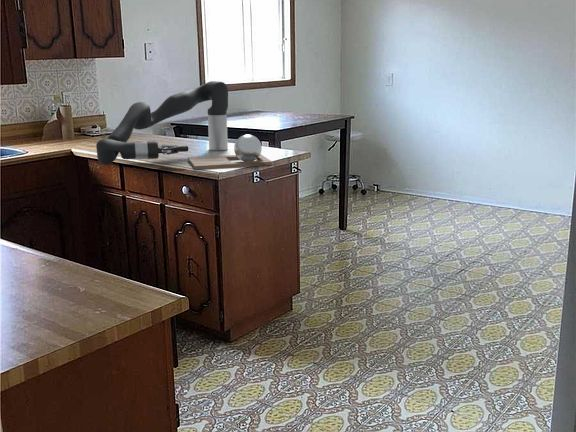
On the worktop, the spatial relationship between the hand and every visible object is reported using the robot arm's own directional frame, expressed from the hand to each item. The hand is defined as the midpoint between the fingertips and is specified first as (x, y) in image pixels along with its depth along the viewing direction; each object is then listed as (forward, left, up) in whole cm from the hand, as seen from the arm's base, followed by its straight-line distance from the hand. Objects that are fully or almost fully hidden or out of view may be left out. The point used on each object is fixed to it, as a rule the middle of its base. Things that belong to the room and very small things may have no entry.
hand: (188, 148), depth 267 cm
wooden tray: (0, +18, -7) cm, 19 cm away
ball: (0, +26, -1) cm, 26 cm away
